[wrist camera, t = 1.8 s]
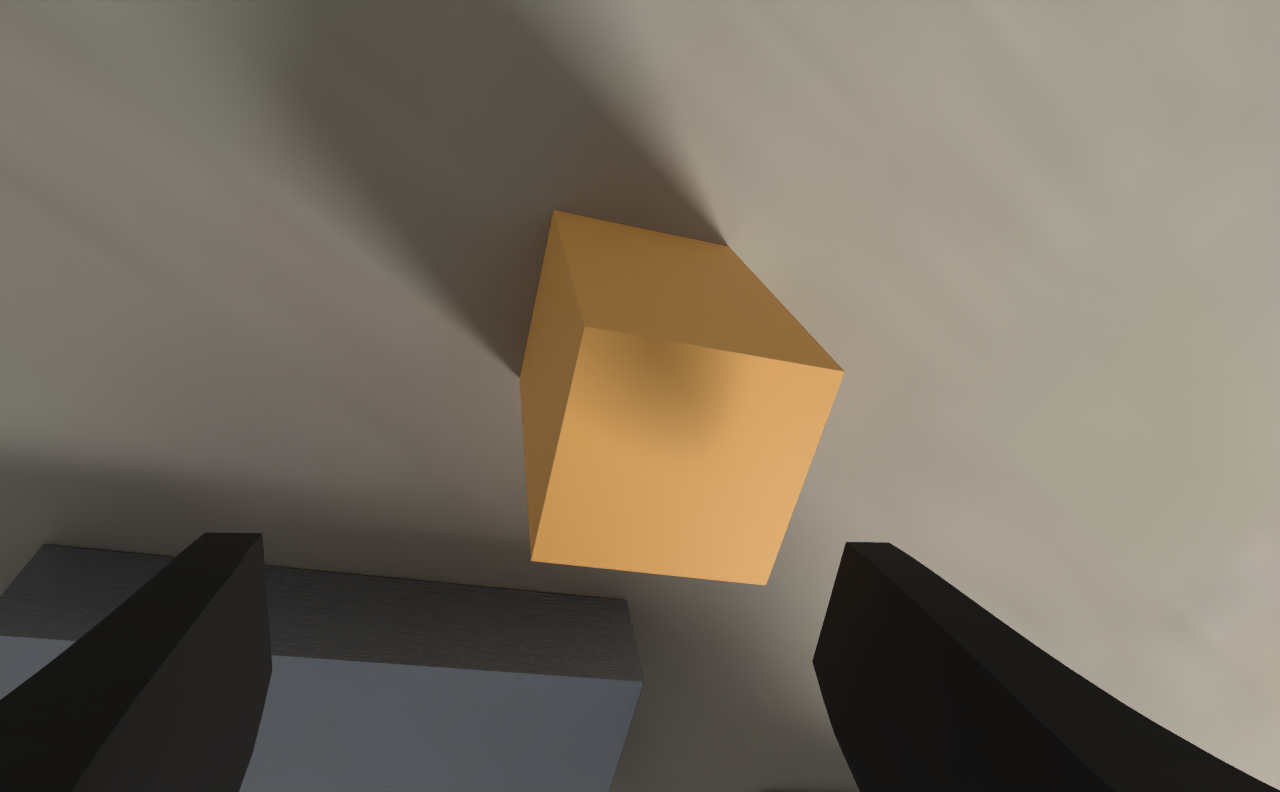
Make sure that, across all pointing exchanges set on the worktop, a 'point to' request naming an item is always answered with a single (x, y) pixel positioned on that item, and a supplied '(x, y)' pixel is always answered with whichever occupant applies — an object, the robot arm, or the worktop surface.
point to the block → (664, 406)
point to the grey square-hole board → (385, 675)
